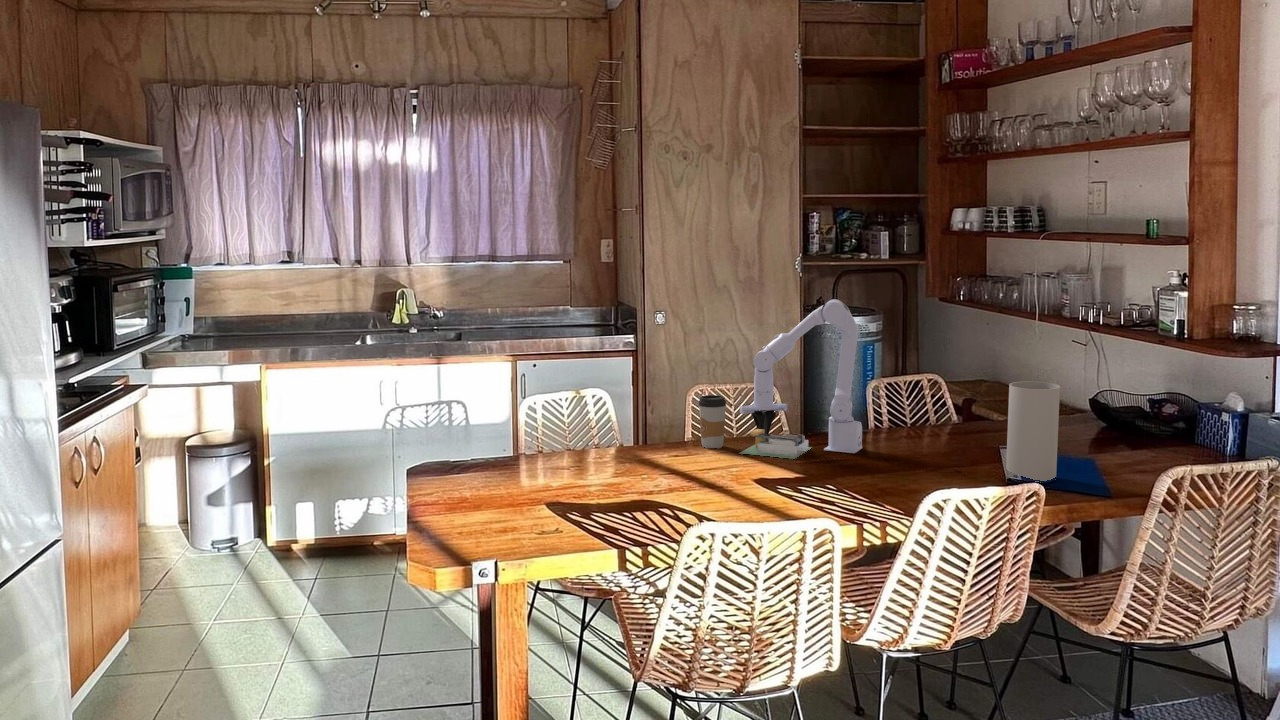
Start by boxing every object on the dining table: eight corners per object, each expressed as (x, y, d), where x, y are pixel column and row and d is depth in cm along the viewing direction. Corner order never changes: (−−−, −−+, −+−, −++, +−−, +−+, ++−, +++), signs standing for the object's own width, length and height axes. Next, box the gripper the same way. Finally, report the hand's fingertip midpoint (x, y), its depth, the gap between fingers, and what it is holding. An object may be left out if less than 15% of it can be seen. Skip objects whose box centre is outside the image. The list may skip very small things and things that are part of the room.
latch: (764, 447, 344) (764, 429, 344) (757, 451, 340) (757, 432, 339) (756, 446, 346) (757, 428, 345) (750, 450, 341) (750, 432, 340)
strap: (801, 441, 338) (801, 437, 337) (798, 443, 335) (798, 439, 335) (757, 435, 344) (757, 431, 343) (753, 437, 341) (754, 433, 341)
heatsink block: (808, 450, 341) (808, 433, 340) (796, 457, 332) (797, 440, 331) (769, 446, 346) (769, 429, 345) (757, 453, 337) (757, 436, 337)
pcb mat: (812, 448, 344) (812, 447, 344) (794, 459, 330) (794, 458, 330) (758, 443, 352) (758, 442, 352) (738, 454, 338) (739, 453, 338)
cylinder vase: (1023, 486, 298) (1027, 390, 295) (996, 475, 310) (999, 382, 306) (1065, 482, 301) (1070, 387, 298) (1037, 471, 313) (1041, 380, 310)
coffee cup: (693, 445, 350) (693, 396, 348) (717, 442, 354) (717, 394, 351) (706, 450, 343) (706, 400, 340) (731, 447, 346) (731, 398, 344)
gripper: (746, 394, 339) (746, 440, 341) (791, 391, 343) (791, 436, 345) (737, 390, 345) (736, 435, 347) (781, 387, 350) (781, 432, 352)
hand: (763, 435), depth 347 cm, fingers closed
